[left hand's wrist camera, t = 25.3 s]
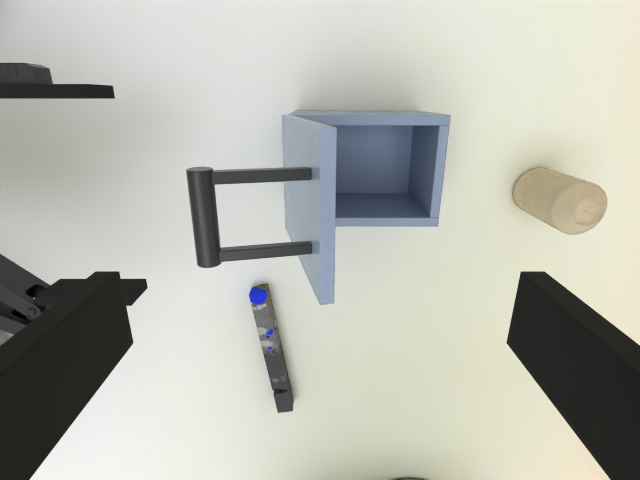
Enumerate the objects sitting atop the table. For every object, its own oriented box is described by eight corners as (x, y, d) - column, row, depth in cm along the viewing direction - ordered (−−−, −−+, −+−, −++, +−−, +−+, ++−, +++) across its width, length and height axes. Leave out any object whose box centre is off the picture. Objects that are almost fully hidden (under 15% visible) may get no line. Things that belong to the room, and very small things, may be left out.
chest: (420, 110, 44) (450, 115, 33) (412, 198, 47) (438, 226, 37) (295, 110, 44) (287, 114, 34) (297, 198, 47) (290, 226, 37)
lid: (337, 127, 20) (175, 130, 18) (334, 303, 23) (198, 319, 22) (292, 115, 33) (197, 116, 32) (294, 227, 37) (209, 233, 35)
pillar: (278, 412, 56) (248, 292, 49) (279, 401, 58) (251, 285, 51) (292, 411, 56) (265, 290, 49) (293, 400, 58) (267, 282, 51)
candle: (507, 210, 48) (553, 238, 38) (518, 166, 46) (569, 183, 36) (551, 212, 48) (607, 241, 38) (563, 168, 46) (626, 186, 37)
